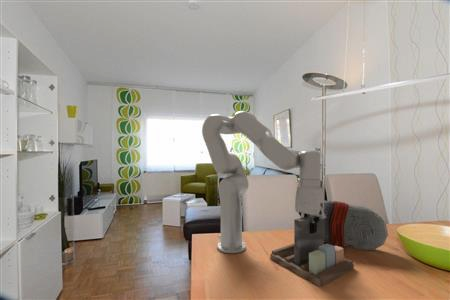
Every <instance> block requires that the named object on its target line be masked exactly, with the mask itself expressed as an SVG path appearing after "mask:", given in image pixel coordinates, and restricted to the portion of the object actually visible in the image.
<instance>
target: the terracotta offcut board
mask: <svg viewBox="0 0 450 300" xmlns="http://www.w3.org/2000/svg"><path fill="white" fill-rule="evenodd" d="M344 250H345V249H344V247H339V246H335V265H337V264H340V263H342V262H344V259H345V254H344V253H345V251H344Z"/></svg>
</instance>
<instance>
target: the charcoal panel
mask: <svg viewBox="0 0 450 300" xmlns="http://www.w3.org/2000/svg"><path fill="white" fill-rule="evenodd" d="M318 216H320V214H319V215H318ZM293 221H294V224H293V225H294V228H293V230H294V234H293V235H294V236H293V240H294V241H293V242H294V243H293V244H294V253H293V255H294V263H295V264H296V265H297V266H299V267H300V266H301V265H303V264H306V263H308V262H309V253H311V252H313V251H316V250H319V246H321V245H324V244H325V241H324V219H321V220H319V222H317V232H316V233H313V234H310V223H311V215H308V216H307V217H303V218H301V217H299V218H295V219H294V220H293Z"/></svg>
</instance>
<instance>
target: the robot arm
mask: <svg viewBox="0 0 450 300" xmlns="http://www.w3.org/2000/svg"><path fill="white" fill-rule="evenodd" d="M201 133H202V138H203V141H204V143H205V145H206V147H207V151H208V155H209V157H210V160H211V163H212V166H213V168H214V171H215V172H216V173H217V174H219V175H226V177H224V178H222V180H221V181H220V182H219V184H218V195H219V196H218V197H219V203H220V204H219V206H220V210H219V211H220V234H218V238H219V240H220V241H219V242H218V243H217V250H218V251H219V252H221V253H225V254H239V253H242V252H243V251H245V250H246V249H247V247H246V243H245V242H244V241H243V206H242V200H241V195H243V194H245V193H246V192H247V191H248V189H249V179H248V176H247V175H246V172H245V168H244V167H243V163H242V161H241V159H240V157H239V156H237V155H236V154H235V153H229V150H228V148H227V146H226V145H227V144H226V142H225V140H224V139H223V137H222V136H221V135H236V134H242V135H243V136H245V138H247V139H248V140H249V141H250V142H251V143H253V145H255V146H256V147H257V149H258V150H259V151H260V152H261V153H262V154H263V155H264V156H265V158H266V159H268V160H269V161H271V162H272V164H273V165H275V166H277V167H278V168H279V169H281V170H283V171H289V170H294V169H299V176H298V177H299V178H298V179H297V182H298V183H299V185H297V186H296V187H297V188H296V191H295V200H294V208H295V210H294V211H295V212H296V213H298V215H299V217H300V218H303V217H307V216H311V223H310V234H313V233H316V232H317V222H319V220H321V219H325V218H326V216H325V214H324V200H325V199H324V190H323V188H322V187H321V185H322V183H321V182H322V181H321V176H322V175H321V169H322V167H321V165H322V164H321V163H322V161H321V160H322V158H321V157H322V155H321V152H320V151H318V150H301V151H299V150H293V149H288V148H287V147H286V146H284V145H283V143H281V142H280V141H279V140H277V139H276V138H275V137H274V135H273V133H272V131H271V130H270V129H269V128H268V127H266V126H265V125H264V124H263V123H261V122H260V121H259V120H258V118H257V117H256V116H255V115H254V114H252V113H251V112H248V111H245V110H241V111H237V112H236V113H234V115H233V116H226V115H223V114H218V113H214V114H210V115H209V116H207V117H206V118H205V119H204V121H203V123H202V128H201ZM319 214H320V216H318V215H319Z"/></svg>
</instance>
